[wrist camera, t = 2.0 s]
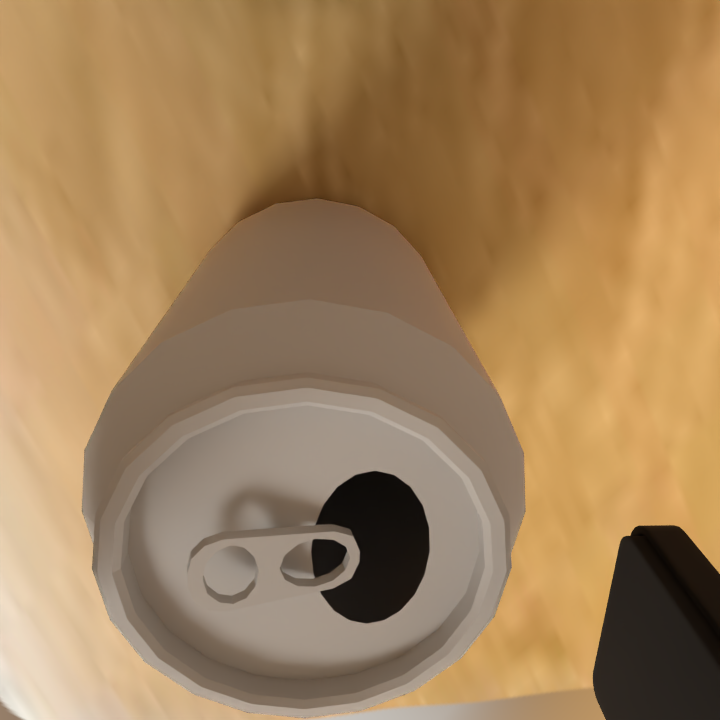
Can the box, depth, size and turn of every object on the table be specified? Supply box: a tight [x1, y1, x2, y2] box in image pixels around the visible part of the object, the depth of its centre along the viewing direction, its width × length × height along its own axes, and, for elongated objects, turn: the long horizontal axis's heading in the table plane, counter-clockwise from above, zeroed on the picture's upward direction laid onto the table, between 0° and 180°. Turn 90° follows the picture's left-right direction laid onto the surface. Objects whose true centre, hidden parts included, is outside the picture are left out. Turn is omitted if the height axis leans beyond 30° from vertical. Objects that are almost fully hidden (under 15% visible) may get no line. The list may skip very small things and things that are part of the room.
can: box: [82, 198, 525, 718], centre depth 15 cm, size 8×8×12 cm
